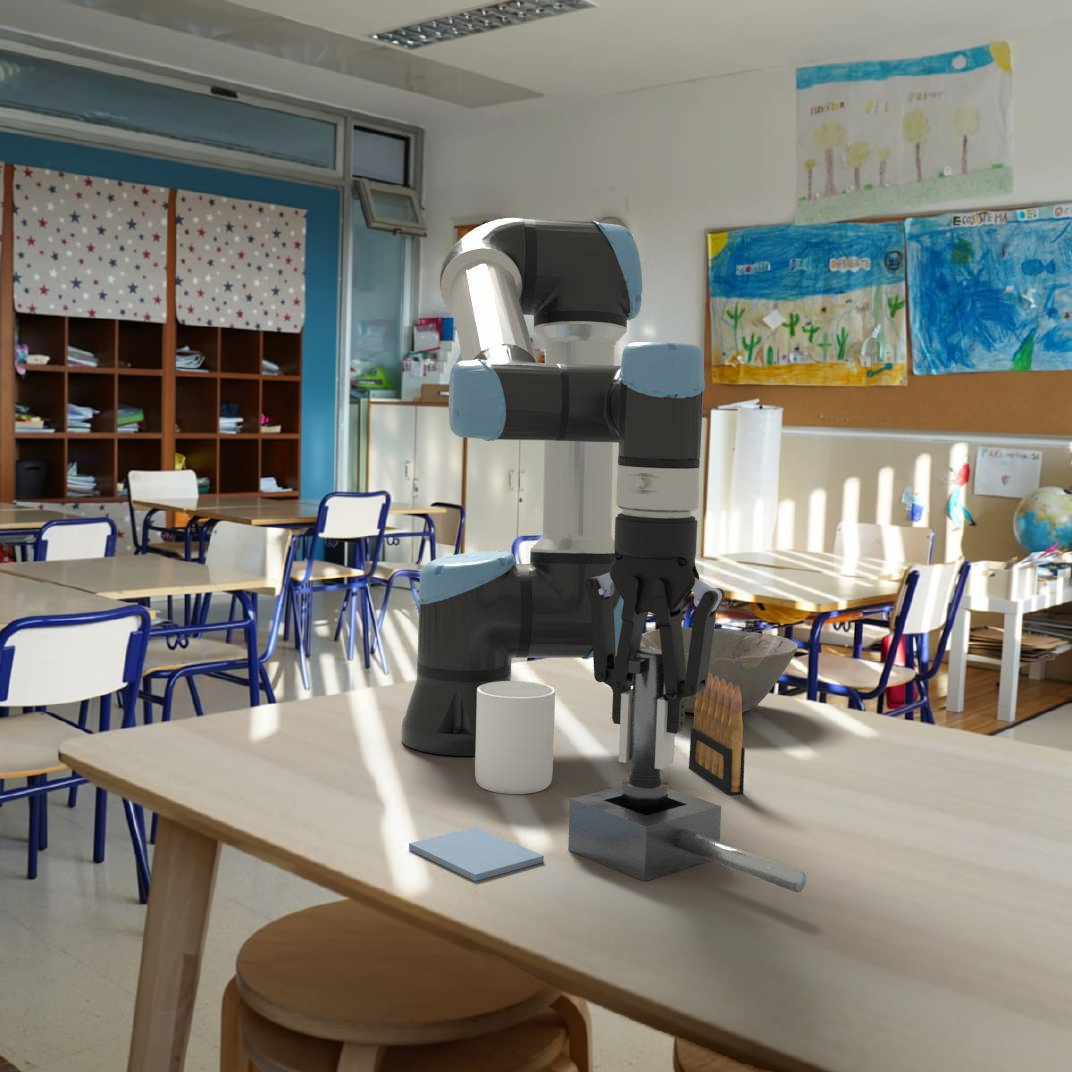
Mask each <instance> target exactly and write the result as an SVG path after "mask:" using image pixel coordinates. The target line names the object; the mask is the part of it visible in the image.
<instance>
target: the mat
mask: <svg viewBox="0 0 1072 1072" xmlns="http://www.w3.org/2000/svg"><path fill="white" fill-rule="evenodd" d="M408 850H410V851H411V852H413V853H415V854H418V855H419V856H422V857H424V858H426V859H428V860H430V861H432V862H434V863H437V864H439V865H440V866H442V867H445V868H447V869H449V870H451V871H453V872H455V873H457V874H459V875H461V876H464V877H466V878H467V879H470V880H472V881H474V882H478V881H480V880H481V881H482V880H484V879H485V880H486V879H487V878H491V877H492V878H493V877H495V876H499V875H502V874H503V875H504V874H506V873H509V872H513V871H516V870H520V869H523V868H527V867H530V866H535V865H538V864H541V863H544V861H545V860H544V859H545V857H544V855H543V854H541V853H540V852H539V853H538V852H536V851H534V850H532V849H529V848H527V847H524V846H522V845H519V844H517V843H515V842H512V841H511V840H509V839H506V838H504V837H501V836H498V835H496V834H494V833H492V832H490V831H487V830H485V829H482V828H480V827H478V826H474V827H470V828H467V829H466V828H465V829H462V830H458V831H457V830H456V831H454V832H450V833H445V834H442V835H437V836H434V837H429V838H426V839H420V840H416V841H413V842H408Z"/></svg>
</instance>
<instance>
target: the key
mask: <svg viewBox="0 0 1072 1072" xmlns="http://www.w3.org/2000/svg"><path fill="white" fill-rule="evenodd" d="M629 672H630V673H633V686H632V689H633V697H632V722H631V747H630V761H629V776H628V777H625V778H624V779H622V780H621V785H620V786H621V799H622V800H623V801H625V802H627V803H629V804H633V805H639V806H658V805H662V804H665V803H666V802H667V801H668V789H669V782H668V781H666V780H665V779H662V775H663V773H662V772H663V769H656V768H655V747H656V724H657V700H658V699H659V698H661V697H663V696H662V695H664V694H665V682H664V672H663V662H662V651H661V648H659V649H657V650H656V649H639V650H635V651H634V659H632V660H629Z"/></svg>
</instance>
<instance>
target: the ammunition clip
mask: <svg viewBox="0 0 1072 1072" xmlns="http://www.w3.org/2000/svg"><path fill="white" fill-rule="evenodd" d="M693 715H694V716H693V726H690V740H689V741H690V743H689V744H690V745H689V757H688V769H689V770H690V771H691V772H693V773H694V774H696V775H697V776H699V777H700V778H702V779H703V780H705V781H706V782H708V783H710V784H711V785H712V786H714V787H715V788H717V789H718V790H719V791H721V792H723V793H724V794H726V795H728V796H730V795H733V796H734V795H744V786H745V755H746V754H745V750H746V749H745V747H743V738H744V737H743V736H744V735H743V734H744V722H743V712H742V698H741V692H740V689H739V686H736V687H735V689H733V685H732V683H731V682H729V684H728V686H726V682H725V680H724V679H722V681H721V683H720V681H719V678H718V676H715V678H714V680H713V677H712V674H711V672H709V673H708V677H707V685H706V688H705V689H704V690H703V691H701V692H699V693H697V697H696V703H695V710H694V713H693Z"/></svg>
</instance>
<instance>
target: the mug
mask: <svg viewBox="0 0 1072 1072" xmlns="http://www.w3.org/2000/svg"><path fill="white" fill-rule="evenodd" d="M555 705H556V690H555V688H554V687H553V686H550V685H548V684H544V683H540V682H534V681H523V680H511V681H499V682H491V683H486V684H483V685H480V686H479V687H478V688H477V711H476V751H475V757H474V759H475V760H474V776H475V781H476V784H478V786H479V787H480V788H482V789H484V790H486V791H488V792H493V793H499V794H503V795H504V794H505V795H527V794H528V795H529V794H533V793H535V794H536V793H539V792H541V791H544V790H545V789H547V788H548V787H550V785H551V783H552V779H553V774H554V773H553V769H554V745H555V744H554V741H555V739H554V737H555V715H556V714H555V710H556V706H555Z"/></svg>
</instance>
